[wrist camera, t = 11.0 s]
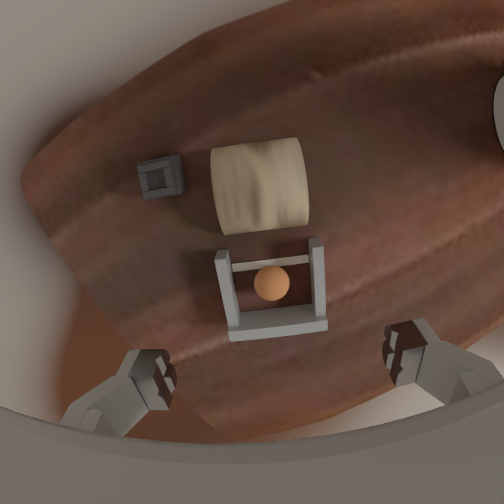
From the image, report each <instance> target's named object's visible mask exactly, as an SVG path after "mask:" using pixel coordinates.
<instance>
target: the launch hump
mask: <svg viewBox="0 0 504 504" xmlns="http://www.w3.org/2000/svg"><path fill="white" fill-rule="evenodd" d="M210 165H211V180H212V189H213V196H214V202H215V207H216V212H217V216H218V220H219V223H220V227H221V229H222V232H223V233H224V235H232V234H239V233H247V232H255V231H263V230H270V229H278V228H287V227H295V226H303V225H307V224H308V220H309V197H308V186H307V178H306V171H305V165H304V160H303V155H302V151H301V147H300V144H299V141H298V139H297V137H295V138H285V139H276V140H268V141H260V142H252V143H245V144H238V145H231V146H225V147H218V148H212V150H211V158H210Z"/></svg>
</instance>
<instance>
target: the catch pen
mask: <svg viewBox="0 0 504 504" xmlns="http://www.w3.org/2000/svg"><path fill="white" fill-rule="evenodd" d="M308 247H309V261H310V277H311V294H312V304H304V305H297V306H289V307H281V308H273V309H264V310H255V311H246V312H240V311H239V306H238V301H237V295H236V290H235V285H234V279H233V274H232V269H231V263H230V258H229V252H228V249H221V250H217V254H216V257H215V260H214V261H215V266H216V271H217V275H218V280H219V285H220V290H221V294H222V299H223V304H224V308H225V313H226V318H227V322H228V334H229V339H230V342H232V341H243V340H253V339H263V338H272V337H281V336H289V335H297V334H304V333H311V332H318V331H325V330H328V321H327V317H326V299H325V269H324V249H323V245H322V243H321V242H320V240H319V238H318V237H317V238H309V239H308Z"/></svg>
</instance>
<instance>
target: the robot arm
mask: <svg viewBox="0 0 504 504" xmlns="http://www.w3.org/2000/svg"><path fill="white" fill-rule="evenodd" d="M494 119H495V125H496V130H497V134H498V137H499V140H500V143H501V145H502V147H503V149H504V76H503V77H502V78H501V79H500V81H499V82H498V84H497V87H496V90H495V95H494ZM384 335H385V337H386V340H385V341H384V343H383V347H382V354H383V360H384V363H385V365H386V367H387V368H389V369H391V371H390V377H391V379H392V381H393V383H394V386H395V387H398V386H402V385H406V384H411V383H414V382H416V384H417V385H418V386H420V387H421V388H423V389H424V390H425V391H427V392H428V393H430V394H431V395H433V396H434V397H435V398H437V399H438V400H439V401H441V402H442V403H444V404H445V405H444V406H442V407H439V408H436V409H433V410H430V411H427V412H423V413H420V414H417V415H414V416H410V417H407V418H404V419H399V420H396V421H392V422H388V423H384V424H380V425H376V426H371V427H367V428H362V429H357V430H352V431H347V432H342V433H336V434H330V435H325V436H317V437H310V438H302V439H293V440H284V441H272V442H257V443H229V444H228V443H226V444H225V443H224V444H211V443H180V442H164V441H154V440H144V439H135V438H127V437H123V436H124V435H125V434H126V433H127V432H128V431H129V430H130V429H131V428H132V427H133V426H134V425H135V424H136V423H137V422H138V421H139V420H140V419H141V418H142V417H143V416H144V415H145V414H146V413H147V412H148V411H149V410H169V408H170V405H171V402H172V398H173V397H172V395H171V392H172V391H173V390H174V389H175V388H176V384H177V375H176V370H175V368H174V366H173V365H172V364H171V363H169V360H170V355H169V353H168V351H167V350H165V349H142V350H141V349H131V350H130V351H128V353H127V355H126V357H125V359H124V361H123V363H122V365H121V366H120V368H119V370H118V372H117V374H116V376H112V377H111V378H109V379H107V380H106V381H104V382H103V383H101V384H100V385H98V386H97V387H95V388H94V389H92V390H91V391H90V392H88V393H87V394H85V395H84V396H82V397H81V398H79V399H78V400H76V401H75V402H73V403H72V404H70V406H69V408H68V410H67V411H66V413H65V415H64V417H63V418H62V420H61V422H60V424H55V423H51V422H48V421H44V420H41V419H37V418H34V417H30V416H27V415H24V414H21V413H18V412H15V411H12V410H9V409H7V408H4V407H1V406H0V504H504V378H503V377H502V375H501V374H500V373H499V371H498V370H497V368H496V367H495V366H494V364H493V363H492V362H491V361H489V360H487V359H485V358H482V357H480V356H477V355H476V354H473V353H471V352H469V351H467V350H464V349H462V348H460V347H457V346H455V345H453V344H451V343H448V342H446V341H440V339H439V338H438V337H437V335H436V334H435V332H434V331H433V330H432V328H431V327H430V326H429V324H428V323H427V322H426V320H425V319H424V318H422V317H420V318H416V319H412V320H409V321H404V322H400V323H395V324H390V325H386V327H385V332H384Z"/></svg>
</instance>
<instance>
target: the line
mask: <svg viewBox="0 0 504 504" xmlns="http://www.w3.org/2000/svg"><path fill="white" fill-rule="evenodd" d="M302 263H309V258H308V255H300V256H292V257H284V258H276V259H268V260H260V261H252V262H243V263H235V264H231V265H232V270H233V272H237V271H245V270H254V269H262V268H263V267H266V266H269V265H274V266H286V265H294V264H302Z"/></svg>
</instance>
